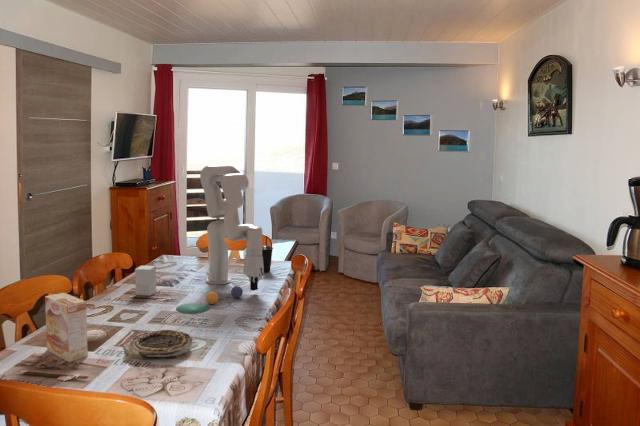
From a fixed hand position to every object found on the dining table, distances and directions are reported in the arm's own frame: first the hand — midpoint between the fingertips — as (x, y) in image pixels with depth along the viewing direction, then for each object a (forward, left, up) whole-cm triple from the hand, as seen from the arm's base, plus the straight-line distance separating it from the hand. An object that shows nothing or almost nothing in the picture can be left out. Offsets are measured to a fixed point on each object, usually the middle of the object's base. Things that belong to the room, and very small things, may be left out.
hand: (253, 289), depth 264 cm
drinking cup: (-28, +32, -2) cm, 43 cm away
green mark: (0, -34, -2) cm, 34 cm away
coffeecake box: (+13, -93, -2) cm, 94 cm away
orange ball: (0, -24, +1) cm, 24 cm away
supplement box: (-33, -38, -2) cm, 51 cm away
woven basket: (+32, -68, -3) cm, 75 cm away
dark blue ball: (0, -10, +1) cm, 10 cm away
